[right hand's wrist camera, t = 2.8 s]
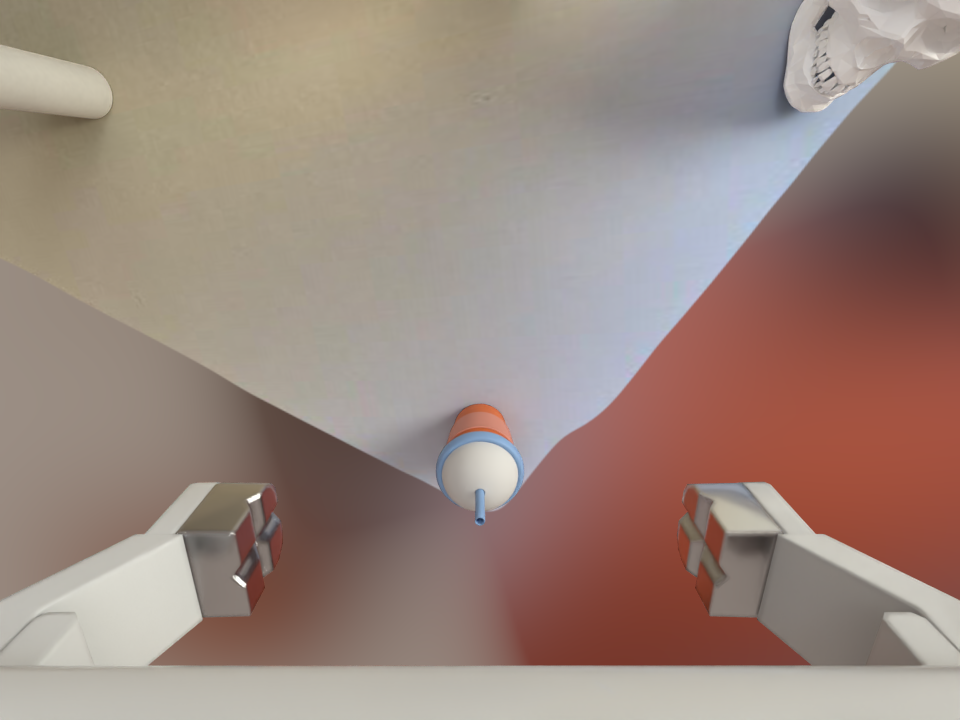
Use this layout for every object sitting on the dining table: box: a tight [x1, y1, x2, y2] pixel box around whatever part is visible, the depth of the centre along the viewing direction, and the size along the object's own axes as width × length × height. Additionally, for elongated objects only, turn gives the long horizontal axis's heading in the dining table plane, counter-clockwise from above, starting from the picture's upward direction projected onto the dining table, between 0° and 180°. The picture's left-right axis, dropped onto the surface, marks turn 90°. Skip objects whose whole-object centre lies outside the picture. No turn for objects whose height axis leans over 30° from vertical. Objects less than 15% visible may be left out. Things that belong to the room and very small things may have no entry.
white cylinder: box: [0, 45, 113, 119], centre depth 42 cm, size 5×5×20 cm
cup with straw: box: [436, 404, 524, 525], centre depth 55 cm, size 9×9×18 cm
